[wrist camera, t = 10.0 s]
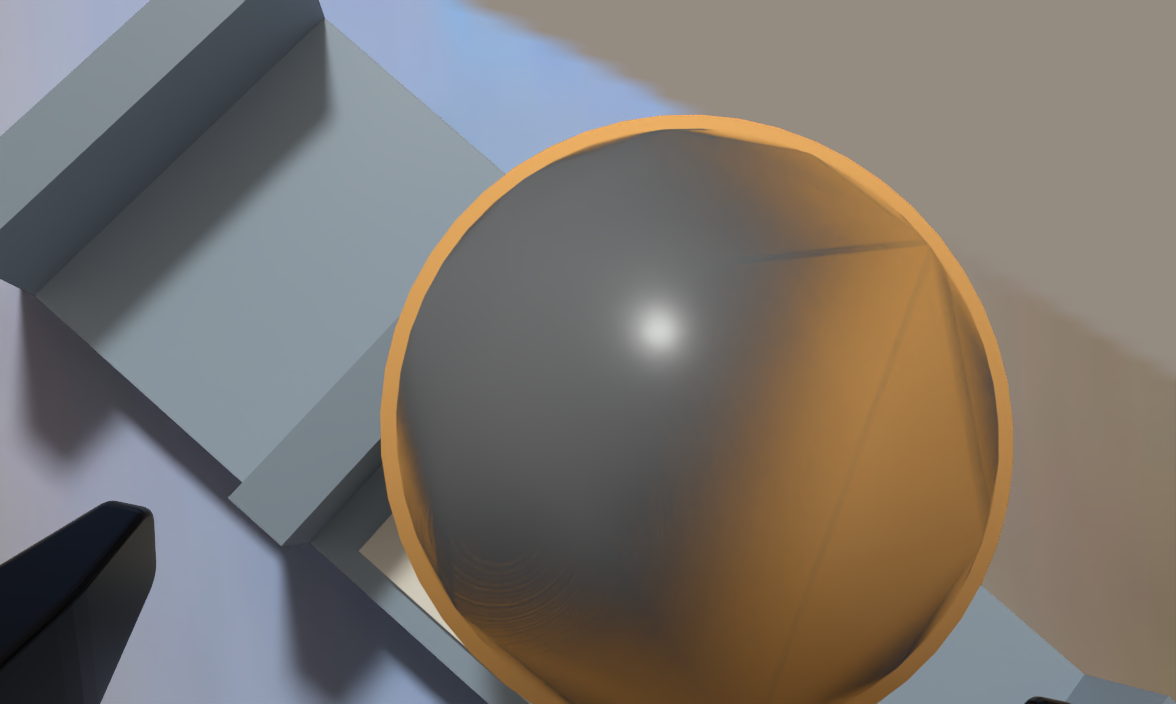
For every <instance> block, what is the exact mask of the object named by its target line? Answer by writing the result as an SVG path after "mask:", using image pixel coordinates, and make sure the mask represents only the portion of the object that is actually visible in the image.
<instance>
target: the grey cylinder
mask: <svg viewBox="0 0 1176 704" xmlns="http://www.w3.org/2000/svg"><path fill="white" fill-rule="evenodd" d="M380 423H381V457H382V463H383V469H384V476H385V482H386V488H387V495H388V500H389V503H390V507H391V510H392V513H393V517H394V520H395V523H396V527H397V530H398V533H399V537H400V540H401V542H402V545H403V547H404V549H405V551H406V554H407V556H408V558H409V560H410V562H411V565H412V567H413V569H414V571H415V574H416V576H417V578H418V580H419V582H420V584H421V585H422V587H423V589H424V590H425V592H426V593H427V595H428V597H429V598H430V600H431V601H432V603H433V605H434V606H435V608H436V609H437V611H438V613H439V614H440V616H441V617H442V619H443V620H444V621H445V623H446V624H447V625H448V626H449V627H450V629H451V630H452V631H453V632H454V634H455V635H456V636H457V637H458V638H459V640H460V641H461V642H462V643H463V644H464V646H465V647H466V648H467V649H468V650H469V652H470V653H471V654H472V655H473V656H474V657H475V658H476V659H477V660H479V661H480V662H481V663H482V664H483V665H484V666H485V667H486V668H487V669H488V670H489V671H491V672H492V673H493V674H494V675H495V676H496V677H497V678H498V679H499V680H500V681H501V682H502V683H504V684H505V685H506V686H508V687H509V688H510V689H512V690H513V691H515V692H516V693H518V694H519V695H521V696H522V697H523V698H525V699H526V700H528V701H529V702H531V703H532V704H877V703H878V702H880V701H881V700H882V699H884V698H885V697H886V696H888V695H889V694H890V693H892V692H893V691H894V690H896V689H897V688H898V687H900V686H901V685H902V684H904V683H905V682H906V681H908V680H909V679H910V678H911V677H912V676H913V675H914V674H915V673H916V672H917V671H918V670H919V669H920V668H921V667H922V666H923V665H924V664H925V663H926V662H927V661H928V660H929V659H930V658H931V657H932V656H933V655H934V654H935V653H936V652H937V650H938V649H939V648H940V646H941V645H942V644H943V642H944V641H945V640H946V638H947V637H948V636H949V635H950V633H951V632H952V631H953V629H954V628H955V627H956V625H957V624H958V623H959V621H960V620H961V619H962V617H963V615H964V614H965V612H966V610H967V608H968V607H969V605H970V603H971V601H972V600H973V598H974V596H975V594H976V592H977V591H978V589H979V587H980V585H981V584H982V582H983V579H984V577H985V574H986V572H987V569H988V567H989V564H990V562H991V559H992V557H993V554H994V552H995V549H996V547H997V544H998V541H999V537H1000V533H1001V529H1002V525H1003V521H1004V517H1005V514H1006V510H1007V506H1008V500H1009V492H1010V483H1011V475H1012V467H1013V420H1012V413H1011V405H1010V397H1009V390H1008V382H1007V378H1006V374H1005V370H1004V367H1003V363H1002V359H1001V355H1000V351H999V347H998V343H997V341H996V338H995V336H994V333H993V330H992V328H991V325H990V323H989V320H988V318H987V315H986V313H985V310H984V308H983V305H982V303H981V301H980V300H979V298H978V296H977V294H976V292H975V290H974V289H973V287H972V285H971V283H970V281H969V279H968V277H967V276H966V274H965V272H964V270H963V269H962V267H961V266H960V264H959V263H958V262H957V260H956V259H955V257H954V256H953V255H952V253H951V252H950V250H949V249H948V247H947V246H946V245H945V243H944V242H943V240H942V239H941V238H940V236H939V235H938V234H937V233H936V232H935V231H934V230H933V229H932V228H931V226H930V225H929V224H928V223H927V222H926V221H925V220H924V219H923V218H922V217H921V215H920V214H919V213H918V212H917V211H916V210H915V209H914V208H913V207H912V206H911V205H910V204H909V203H907V202H906V201H905V200H904V199H903V198H902V197H901V196H899V195H898V194H897V193H896V192H895V191H893V190H892V189H891V188H890V187H889V186H888V185H887V184H886V183H884V182H883V181H882V180H880V179H879V178H877V177H876V176H874V175H873V174H871V173H870V172H868V171H867V170H865V169H864V168H862V167H861V166H860V165H858V164H856V163H855V162H853V161H852V160H851V159H849V158H847V157H845V156H843V155H841V154H839V153H837V152H835V151H833V150H831V149H829V148H827V147H825V146H823V145H821V144H819V143H817V142H816V141H813V140H810V139H807V138H805V137H802V136H799V135H796V134H793V133H791V132H788V131H786V130H783V129H780V128H777V127H772V126H768V125H764V124H759V123H755V122H751V121H747V120H743V119H736V118H727V117H717V116H708V115H665V116H656V117H649V118H642V119H635V120H628V121H622V122H619V123H615V124H612V125H608V126H604V127H601V128H597V129H594V130H590V131H587V132H584V133H581V134H579V135H577V136H574V137H572V138H570V139H567V140H565V141H563V142H560V143H558V144H556V145H553V146H551V147H549V148H547V149H545V150H544V151H542V152H540V153H539V154H537V155H535V156H533V157H532V158H530V159H528V160H527V161H525V162H523V163H522V164H520V165H518V166H516V167H515V168H513V169H512V170H511V171H510V172H508V173H507V174H506V175H505V176H503V177H502V178H501V179H499V180H498V181H497V182H496V183H494V184H493V185H492V186H490V187H489V188H488V189H487V190H485V191H484V192H483V193H482V194H481V195H480V196H479V197H478V198H477V199H476V200H475V201H474V202H473V203H472V204H471V205H470V206H469V207H468V208H467V209H466V210H465V211H464V212H463V213H462V214H461V215H460V216H459V217H458V218H457V219H456V220H455V222H454V223H453V224H452V226H451V227H450V228H449V230H448V231H447V232H446V234H445V235H444V236H443V238H442V239H441V240H440V242H439V243H438V244H437V246H436V247H435V248H434V250H433V251H432V252H431V254H430V255H429V257H428V259H427V261H426V263H425V264H424V266H423V268H422V270H421V272H420V273H419V275H418V277H417V279H416V281H415V282H414V284H413V286H412V288H411V290H410V292H409V294H408V297H407V300H406V302H405V305H404V307H403V310H402V312H401V315H400V317H399V320H398V322H397V325H396V327H395V331H394V335H393V339H392V343H391V347H390V351H389V355H388V359H387V363H386V367H385V373H384V382H383V391H382V400H381V410H380Z"/></svg>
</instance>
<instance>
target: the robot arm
mask: <svg viewBox="0 0 1176 704" xmlns="http://www.w3.org/2000/svg"><path fill="white" fill-rule="evenodd" d="M155 571H156V551H155V531H154V518H153V514H152V512H151V511H150V510H149V509H148V508H146V507H142V506H137V505H133V504H128V503H123V502H118V501H108V502H105V503H103V504H101V505H99V506H97V507H95V508H94V509H92V510H90V511H89V512H87V513H86V514H84V515H82V516H81V517H79V518H77V519H76V520H74V521H72V522H71V523H69V524H67V525H66V526H64V527H62V528H61V529H59V530H57V531H56V532H54V533H52V534H51V535H49V536H47V537H46V538H44V539H42V540H41V541H39V542H38V543H36V544H34V545H33V546H31V547H29V548H28V549H26V550H24V551H23V552H21V553H19V554H18V555H16V556H14V557H13V558H11V559H9V560H8V561H6V562H4V563H3V564H1V565H0V704H100V703H101V701H102V698H103V696H104V694H105V692H106V689H107V687H108V685H109V683H110V680H111V678H112V676H113V674H114V671H115V669H116V667H117V664H118V662H119V660H120V658H121V655H122V653H123V651H124V649H125V646H126V644H127V642H128V639H129V637H130V635H131V633H132V630H133V628H134V626H135V624H136V621H137V619H138V617H139V614H140V612H141V610H142V608H143V605H144V603H145V601H146V599H147V596H148V594H149V592H150V589H151V587H152V584H153V581H154V577H155ZM1024 704H1071V703H1068V702H1064V701H1060V700H1055V699H1050V698H1045V697H1041V696H1035V697H1032V698H1030V699H1028V700H1027V701H1026V702H1025V703H1024Z"/></svg>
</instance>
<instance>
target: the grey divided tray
mask: <svg viewBox="0 0 1176 704" xmlns="http://www.w3.org/2000/svg"><path fill="white" fill-rule="evenodd" d="M505 175H506V174H505V173H504V172H503V171H501V170H500V169H499V168H498V167H497V166H496V165H495V164H493V163H492V162H491V161H490V160H489V159H488V158H486V157H485V156H484V155H483V154H482V153H481V152H479V151H478V150H477V149H476V148H475V147H474V146H473V145H471V144H470V143H469V142H468V141H467V140H466V139H464V138H463V137H462V136H461V135H460V134H459V133H458V132H456V131H455V130H454V129H453V128H452V127H451V126H449V125H448V124H447V123H446V122H445V121H444V120H442V119H441V118H440V117H439V116H438V115H437V114H436V113H434V112H433V111H432V110H431V109H430V108H429V107H427V106H426V105H425V104H424V103H423V102H422V101H421V100H419V99H418V98H417V97H416V96H415V95H414V94H412V93H411V92H410V91H409V90H408V89H407V88H405V87H404V86H403V85H402V84H401V83H400V82H399V81H397V80H396V79H395V78H394V77H393V76H392V75H390V74H389V73H388V72H387V71H386V70H385V69H384V68H382V67H381V66H380V65H379V64H378V63H377V62H375V61H374V60H373V59H372V58H371V57H370V56H368V55H367V54H366V53H365V52H364V51H363V50H362V49H360V48H359V47H358V46H357V45H356V44H355V43H353V42H352V41H351V40H350V39H349V38H348V37H346V36H345V35H344V34H343V33H342V32H341V31H340V30H338V29H337V28H336V27H335V26H334V25H333V24H331V23H330V22H329V21H328V20H327V19H326V18H325V17H324V14H323V12H322V9H321V6H320V3H319V0H150V1H149V2H148V3H147V4H146V5H145V6H144V7H143V8H141V9H140V10H139V11H138V12H137V13H136V14H135V15H134V16H133V17H132V18H130V19H129V20H128V21H127V22H126V23H125V24H124V25H123V26H122V27H121V28H119V29H118V30H117V31H116V32H115V33H114V34H113V35H112V36H111V37H110V38H108V39H107V40H106V41H105V42H104V43H103V44H102V45H101V46H100V47H99V48H97V49H96V50H95V51H94V52H93V53H92V54H91V55H90V56H89V57H88V58H86V59H85V60H84V61H83V62H82V63H81V64H80V65H79V66H78V67H77V68H75V69H74V70H73V71H72V72H71V73H70V74H69V75H68V76H67V77H66V78H64V79H63V80H62V81H61V82H60V83H59V84H58V85H57V86H56V87H55V88H53V89H52V90H51V91H50V92H49V93H48V94H47V95H46V96H45V97H44V98H42V99H41V100H40V101H39V102H38V103H37V104H36V105H35V106H34V107H33V108H31V109H30V110H29V111H28V112H27V113H26V114H25V115H24V116H23V117H22V118H20V119H19V120H18V121H17V122H16V123H15V124H14V125H13V126H12V127H11V128H9V129H8V130H7V131H6V132H5V133H4V134H3V135H2V136H1V137H0V279H2V280H4V281H6V282H8V283H10V284H12V285H14V286H16V287H18V288H20V289H22V290H24V291H26V292H28V293H30V294H32V295H34V296H35V297H36V298H38V299H39V300H40V301H41V302H42V303H43V304H44V305H45V306H46V307H48V308H49V309H50V310H51V311H52V312H53V313H54V314H55V315H56V316H58V317H59V318H60V319H61V320H62V321H63V322H64V323H65V324H66V325H68V326H69V327H70V328H71V329H72V330H73V331H74V332H75V333H77V334H78V335H79V336H80V337H81V338H82V339H83V340H84V341H85V342H87V343H88V344H89V345H90V346H91V347H92V348H93V349H94V350H95V351H97V352H98V353H99V354H100V355H101V356H102V357H103V358H104V359H105V360H107V361H108V362H109V363H110V364H111V365H112V366H113V367H114V368H115V369H117V370H118V371H119V372H120V373H121V374H122V375H123V376H124V377H125V378H127V379H128V380H129V381H130V382H131V383H132V384H133V385H134V386H135V387H137V388H138V389H139V390H140V391H141V392H142V393H143V394H144V395H145V396H147V397H148V398H149V399H150V400H151V401H152V402H153V403H154V404H155V405H157V406H158V407H159V408H160V409H161V410H162V411H163V412H164V413H166V414H167V415H168V416H169V417H170V418H171V419H172V420H173V421H174V422H176V423H177V424H178V425H179V426H180V427H181V428H182V429H183V430H184V431H186V432H187V433H188V434H189V435H190V436H191V437H192V438H193V439H194V440H196V441H197V442H198V443H199V444H200V445H201V446H202V447H203V448H204V449H206V450H207V451H208V452H209V453H210V454H211V455H212V456H213V457H214V458H216V459H217V460H218V461H219V462H220V463H221V464H222V465H223V466H224V467H226V468H227V469H228V470H229V471H230V472H231V473H232V474H233V475H234V476H236V477H237V478H238V479H239V480H240V481H241V482H242V483H241V484H240V485H239V486H238V487H237V489H236V490H235V491H234V492H233V493H232V494H231V495H230V496H229V497H228V499H229V500H230V501H232V502H233V503H234V504H235V505H236V506H237V507H238V508H239V509H240V510H242V511H243V512H244V513H245V514H246V515H247V516H248V517H249V518H250V519H252V520H253V521H254V522H255V523H256V524H257V525H258V526H259V527H260V528H262V529H263V530H264V531H265V532H266V533H267V534H268V535H269V536H270V537H272V538H273V539H274V540H275V541H276V542H277V543H278V544H279V545H280V546H288V545H297V544H307V543H310V544H311V545H312V546H313V547H315V548H316V549H317V550H318V551H319V552H320V553H321V554H322V555H323V556H325V557H326V558H327V559H328V560H329V561H330V562H331V563H332V564H334V565H335V566H336V567H337V568H338V569H339V570H340V571H341V572H342V573H344V574H345V575H346V576H347V577H348V578H349V579H350V580H351V581H352V582H354V583H355V584H356V585H357V586H358V587H359V588H360V589H361V590H362V591H364V592H365V593H366V594H367V595H368V596H369V597H370V598H371V599H372V600H374V601H375V602H376V603H377V604H378V605H379V606H380V607H381V608H382V609H384V610H385V611H386V612H387V613H388V614H389V615H390V616H391V617H392V618H394V619H395V620H396V621H397V622H398V623H399V624H400V625H401V626H402V627H404V628H405V629H406V630H407V631H408V632H409V633H410V634H411V635H413V636H414V637H415V638H416V639H417V640H418V641H419V642H420V643H421V644H423V645H424V646H425V647H426V648H427V649H428V650H429V651H430V652H431V653H433V654H434V655H435V656H436V657H437V658H438V659H439V660H440V661H441V662H443V663H444V664H445V665H446V666H447V667H448V668H449V669H450V670H451V671H453V672H454V673H455V674H456V675H457V676H458V677H459V678H460V679H461V680H463V681H464V682H465V683H466V684H467V685H468V686H469V687H470V688H471V689H473V690H474V691H475V692H476V693H477V694H478V695H479V696H480V697H481V698H483V699H484V700H485V701H486V702H487V703H488V704H532V703H531V702H529V701H528V700H526V699H525V698H523V697H522V696H521V695H519V694H518V693H516V692H515V691H513V690H512V689H510V688H509V687H508V686H506V685H505V684H504V683H502V682H501V681H500V680H499V679H498V678H497V677H496V676H495V675H494V674H493V673H492V672H491V671H489V670H488V669H487V668H486V667H485V666H484V665H483V664H482V663H481V662H480V661H479V660H477V659H476V658H475V657H474V656H473V655H472V654H471V653H470V652H469V650H468V649H467V648H466V647H465V646H464V644H463V643H462V642H461V641H460V640H459V638H458V637H457V636H456V635H455V634H454V632H453V631H452V630H451V629H450V627H449V626H448V625H447V624H446V623H445V621H444V620H443V619H442V617H441V616H440V614H439V613H438V611H437V609H436V608H435V606H434V605H433V603H432V601H431V600H430V598H429V597H428V595H427V593H426V592H425V590H424V589H423V587H422V585H421V584H420V582H419V580H418V578H417V576H416V574H415V571H414V569H413V567H412V565H411V562H410V560H409V558H408V556H407V554H406V551H405V549H404V547H403V545H402V542H401V540H400V537H399V533H398V530H397V527H396V523H395V520H394V517H393V513H392V510H391V507H390V503H389V500H388V495H387V488H386V482H385V476H384V469H383V463H382V457H381V423H380V410H381V400H382V391H383V382H384V373H385V367H386V363H387V359H388V355H389V351H390V347H391V343H392V339H393V335H394V331H395V327H396V325H397V322H398V320H399V317H400V315H401V312H402V310H403V307H404V305H405V302H406V300H407V297H408V294H409V292H410V290H411V288H412V286H413V284H414V282H415V281H416V279H417V277H418V275H419V273H420V272H421V270H422V268H423V266H424V264H425V263H426V261H427V259H428V257H429V255H430V254H431V252H432V251H433V250H434V248H435V247H436V246H437V244H438V243H439V242H440V240H441V239H442V238H443V236H444V235H445V234H446V232H447V231H448V230H449V228H450V227H451V226H452V224H453V223H454V222H455V220H456V219H457V218H458V217H459V216H460V215H461V214H462V213H463V212H464V211H465V210H466V209H467V208H468V207H469V206H470V205H471V204H472V203H473V202H474V201H475V200H476V199H477V198H478V197H479V196H480V195H481V194H482V193H483V192H484V191H485V190H487V189H488V188H489V187H490V186H492V185H493V184H494V183H496V182H497V181H498V180H499V179H501V178H502V177H503V176H505ZM1035 696H1041V697H1045V698H1050V699H1055V700H1060V701H1064V702H1068V703H1071V704H1176V702H1174V701H1173V700H1172V699H1171V698H1170V697H1169V696H1166V695H1162V694H1158V693H1154V692H1151V691H1147V690H1143V689H1139V688H1135V687H1131V686H1127V685H1123V684H1120V683H1116V682H1112V681H1108V680H1104V679H1100V678H1096V677H1092V676H1089V675H1085V674H1083V673H1082V672H1081V671H1080V670H1079V669H1077V668H1076V667H1075V666H1074V665H1073V664H1072V663H1071V662H1069V661H1068V660H1067V659H1066V658H1065V657H1064V656H1062V655H1061V654H1060V653H1059V652H1058V651H1057V650H1055V649H1054V648H1053V647H1052V646H1051V645H1050V644H1049V643H1047V642H1046V641H1045V640H1044V639H1043V638H1042V637H1040V636H1039V635H1038V634H1037V633H1036V632H1035V631H1034V630H1032V629H1031V628H1030V627H1029V626H1028V625H1027V624H1025V623H1024V622H1023V621H1022V620H1021V619H1020V618H1018V617H1017V616H1016V615H1015V614H1014V613H1013V612H1012V611H1010V610H1009V609H1008V608H1007V607H1006V606H1005V605H1003V604H1002V603H1001V602H1000V601H999V600H998V599H997V598H995V597H994V596H993V595H992V594H991V593H990V592H988V591H987V590H986V589H985V588H984V587H983V586H981V585H980V587H979V589H978V591H977V592H976V594H975V596H974V598H973V600H972V601H971V603H970V605H969V607H968V608H967V610H966V612H965V614H964V615H963V617H962V619H961V620H960V621H959V623H958V624H957V625H956V627H955V628H954V629H953V631H952V632H951V633H950V635H949V636H948V637H947V638H946V640H945V641H944V642H943V644H942V645H941V646H940V648H939V649H938V650H937V652H936V653H935V654H934V655H933V656H932V657H931V658H930V659H929V660H928V661H927V662H926V663H925V664H924V665H923V666H922V667H921V668H920V669H919V670H918V671H917V672H916V673H915V674H914V675H913V676H912V677H911V678H910V679H909V680H908V681H906V682H905V683H904V684H902V685H901V686H900V687H898V688H897V689H896V690H894V691H893V692H892V693H890V694H889V695H888V696H886V697H885V698H884V699H882V700H881V701H880V702H878V703H877V704H1024V703H1025V702H1026V701H1027V700H1028V699H1030V698H1032V697H1035Z"/></svg>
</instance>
